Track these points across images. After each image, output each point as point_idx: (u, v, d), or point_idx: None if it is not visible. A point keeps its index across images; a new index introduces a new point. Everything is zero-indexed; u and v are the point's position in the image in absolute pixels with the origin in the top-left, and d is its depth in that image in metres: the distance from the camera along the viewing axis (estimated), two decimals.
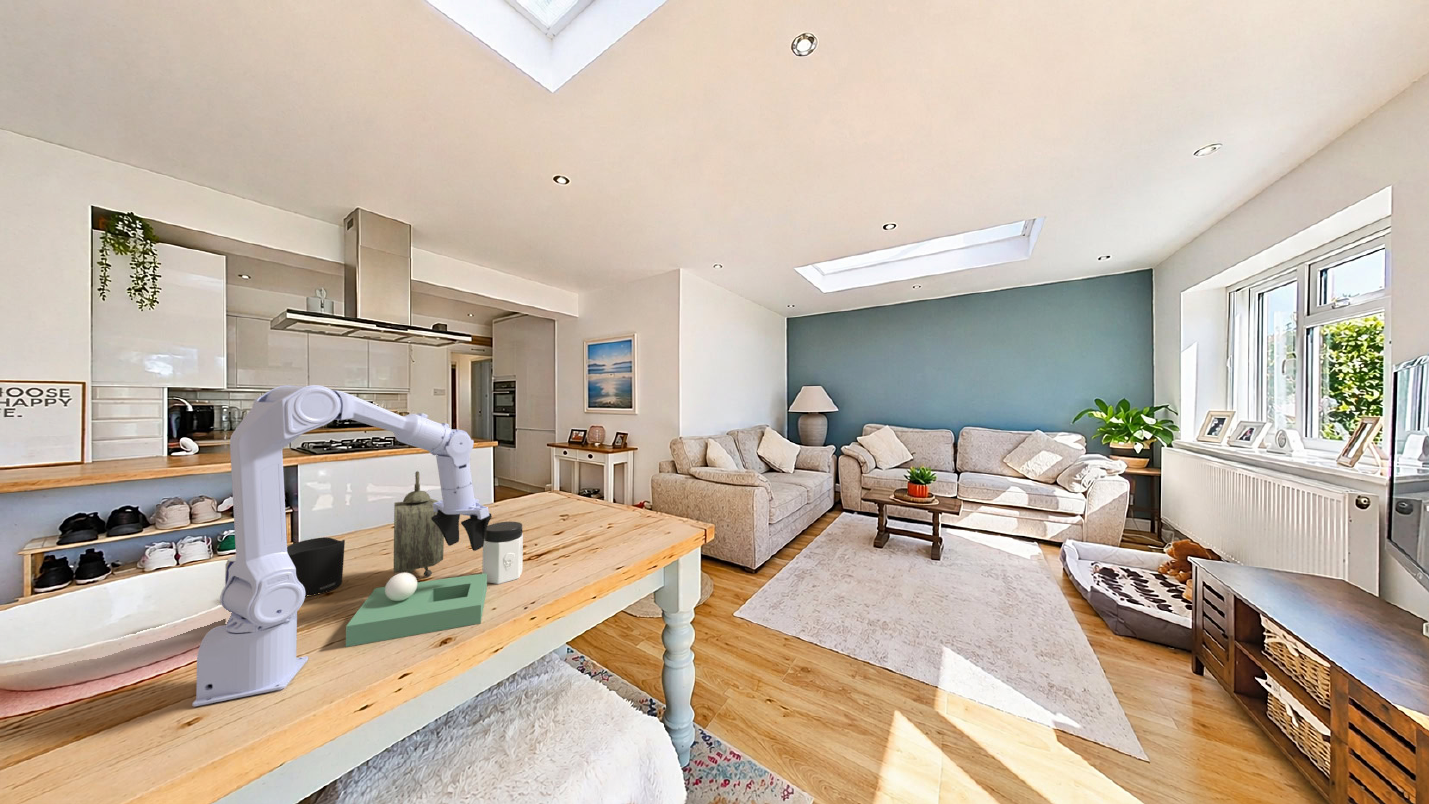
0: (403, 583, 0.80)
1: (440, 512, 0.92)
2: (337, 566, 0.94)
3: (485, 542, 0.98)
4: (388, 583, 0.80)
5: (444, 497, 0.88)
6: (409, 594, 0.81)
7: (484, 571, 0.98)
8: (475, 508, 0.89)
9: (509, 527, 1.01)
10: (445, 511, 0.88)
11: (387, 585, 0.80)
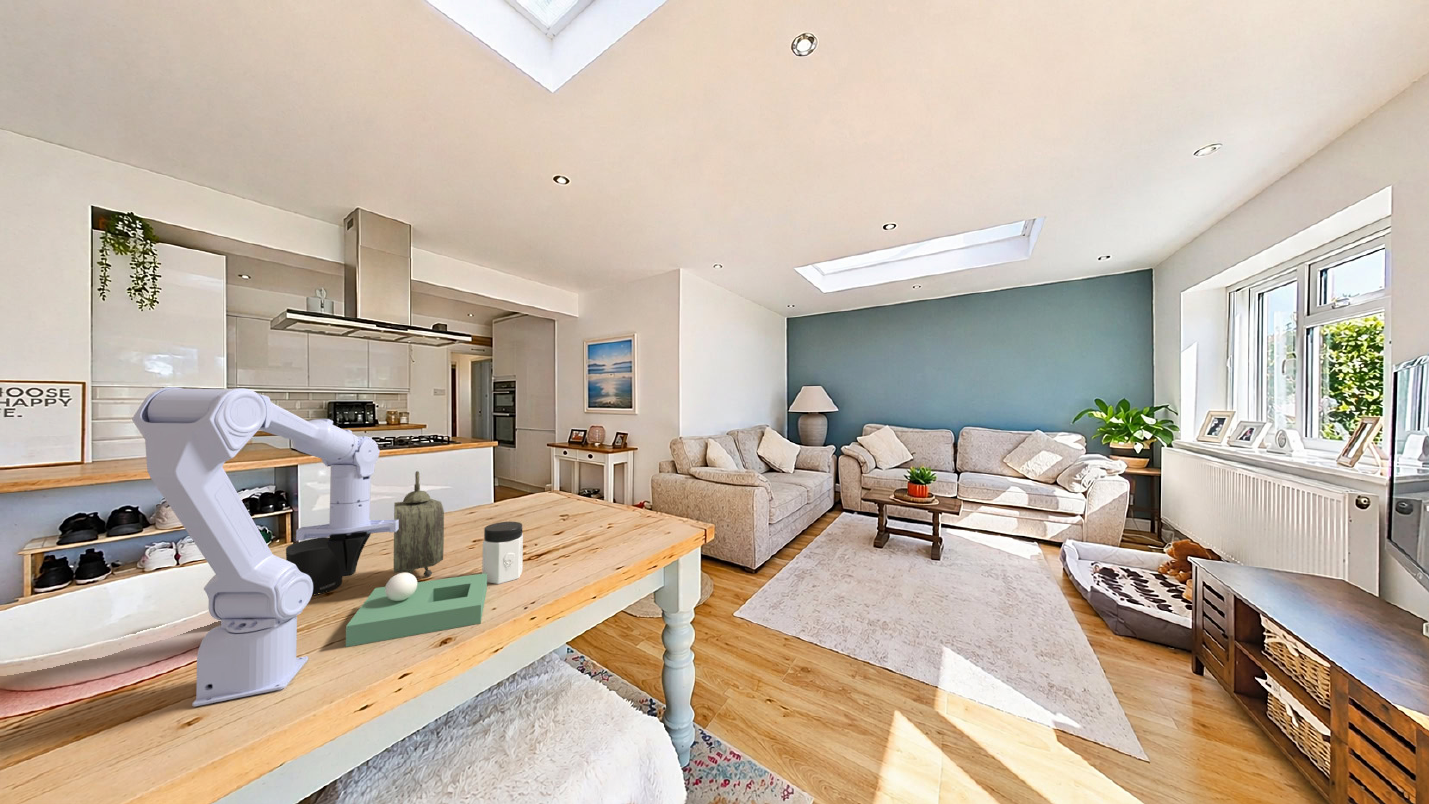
0: (403, 583, 0.80)
1: None
2: (337, 566, 0.94)
3: (485, 542, 0.98)
4: (388, 583, 0.80)
5: (343, 513, 0.77)
6: (409, 594, 0.81)
7: (484, 571, 0.98)
8: (382, 522, 0.81)
9: (509, 527, 1.01)
10: (341, 530, 0.76)
11: (387, 585, 0.80)
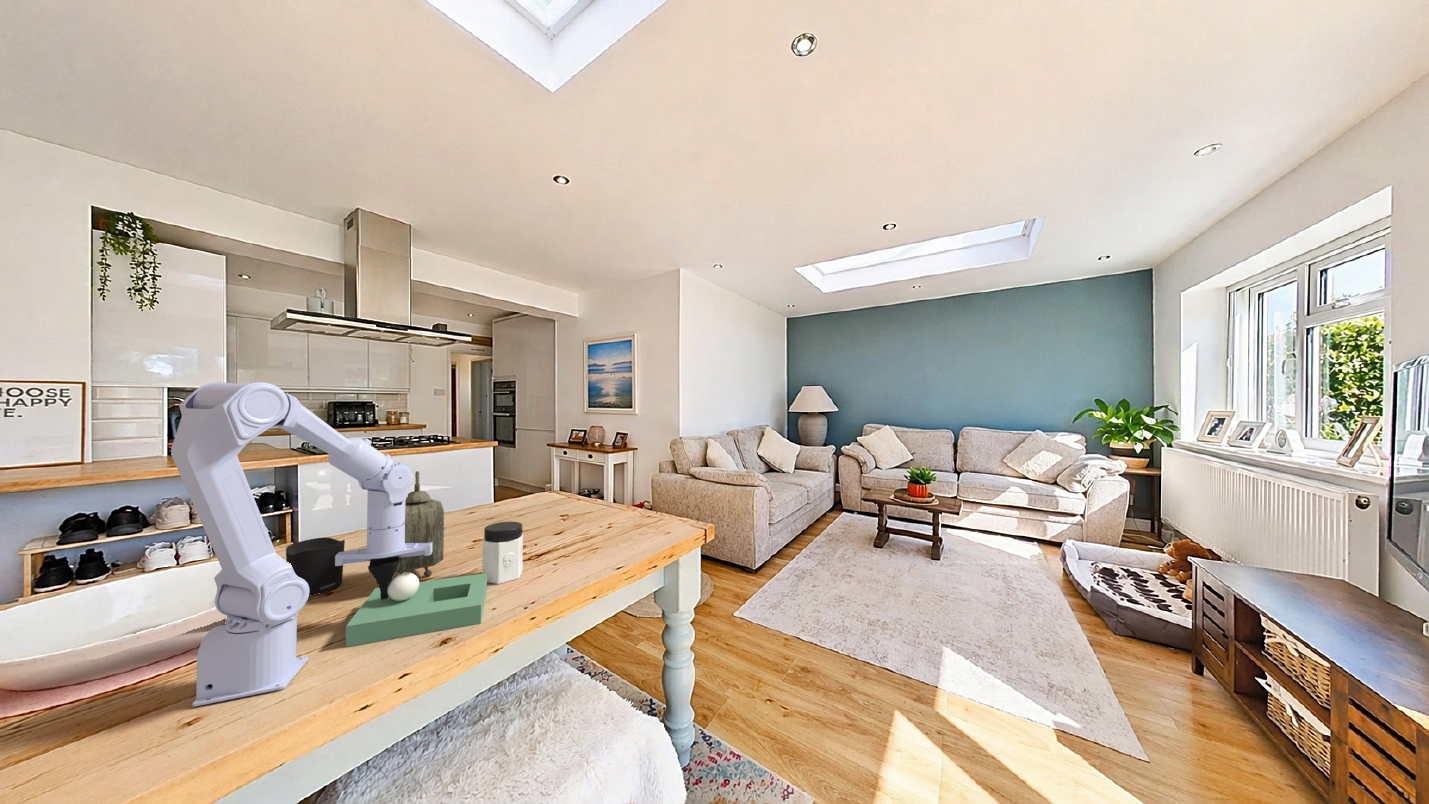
0: (406, 583, 0.80)
1: None
2: (337, 566, 0.94)
3: (485, 542, 0.98)
4: (391, 582, 0.80)
5: (380, 538, 0.78)
6: (410, 595, 0.81)
7: (484, 571, 0.98)
8: (416, 546, 0.83)
9: (509, 527, 1.01)
10: (379, 555, 0.78)
11: (390, 583, 0.80)
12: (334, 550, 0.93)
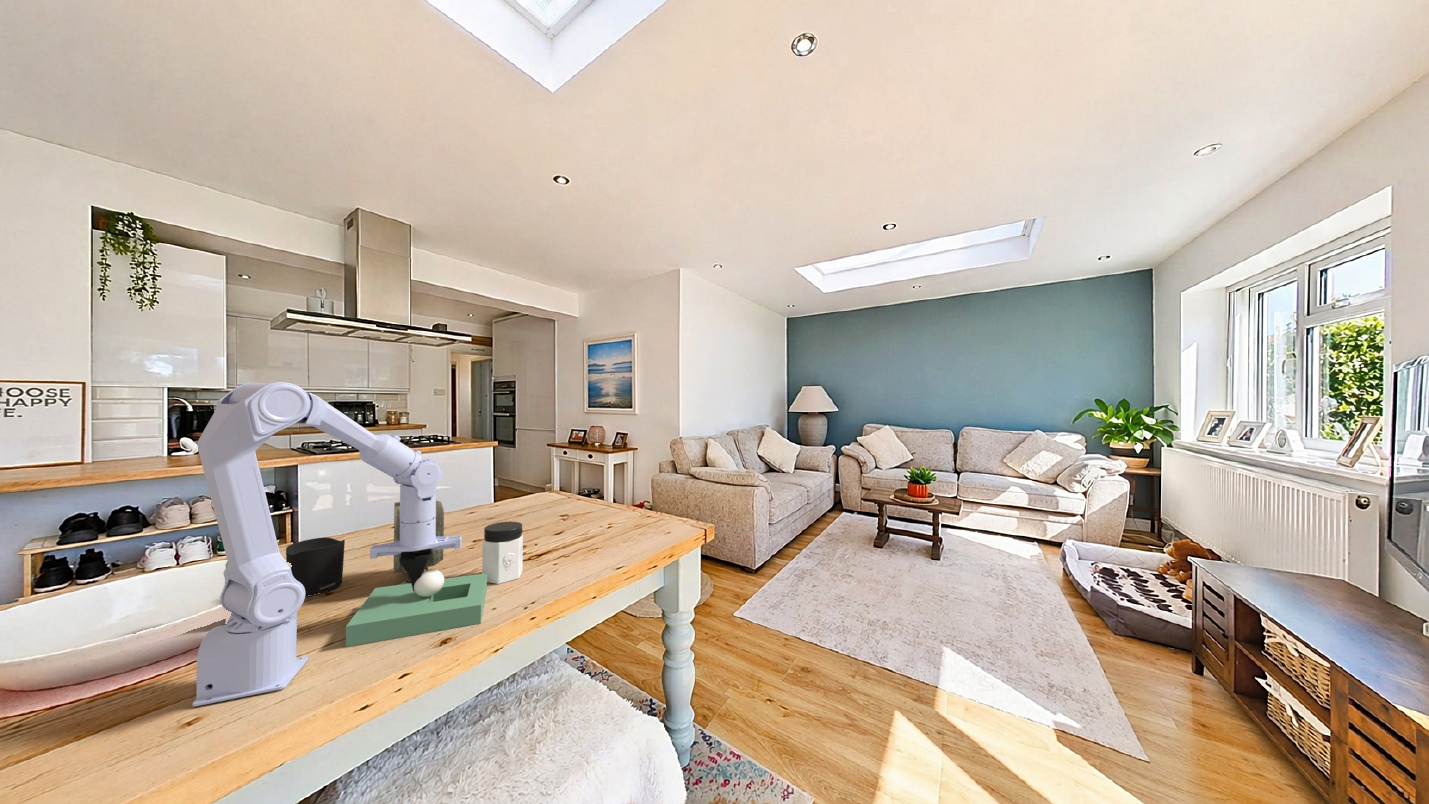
0: (434, 590, 0.83)
1: None
2: (337, 566, 0.94)
3: (485, 542, 0.98)
4: (438, 575, 0.84)
5: (413, 532, 0.80)
6: (419, 594, 0.82)
7: (484, 571, 0.98)
8: (447, 539, 0.85)
9: (509, 527, 1.01)
10: (413, 548, 0.80)
11: (437, 575, 0.83)
12: (334, 550, 0.93)
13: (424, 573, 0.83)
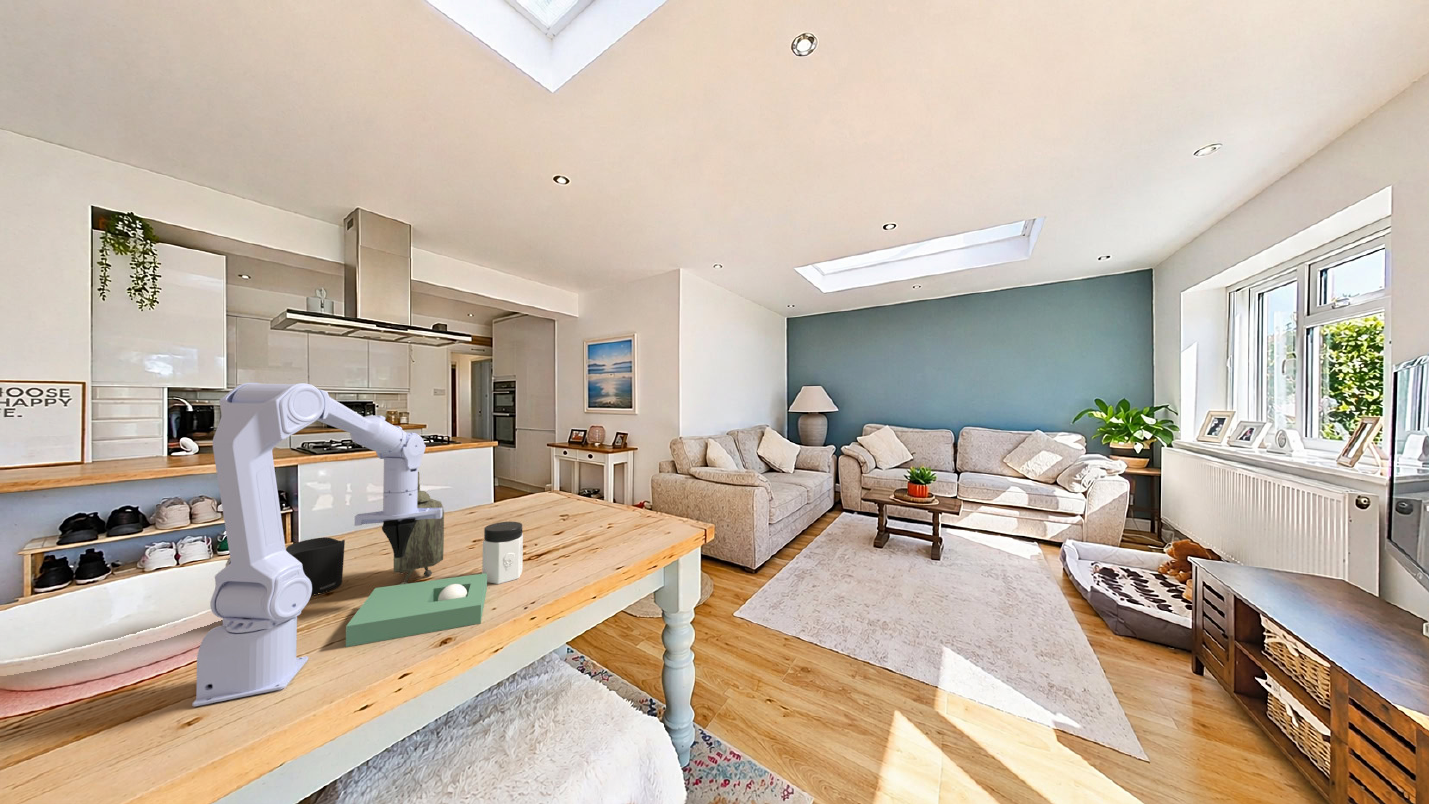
0: None
1: None
2: (337, 566, 0.94)
3: (485, 542, 0.98)
4: None
5: (395, 501, 0.86)
6: (443, 599, 0.82)
7: (484, 571, 0.98)
8: (428, 510, 0.90)
9: (509, 527, 1.01)
10: (395, 516, 0.85)
11: None
12: (334, 550, 0.93)
13: (465, 595, 0.85)
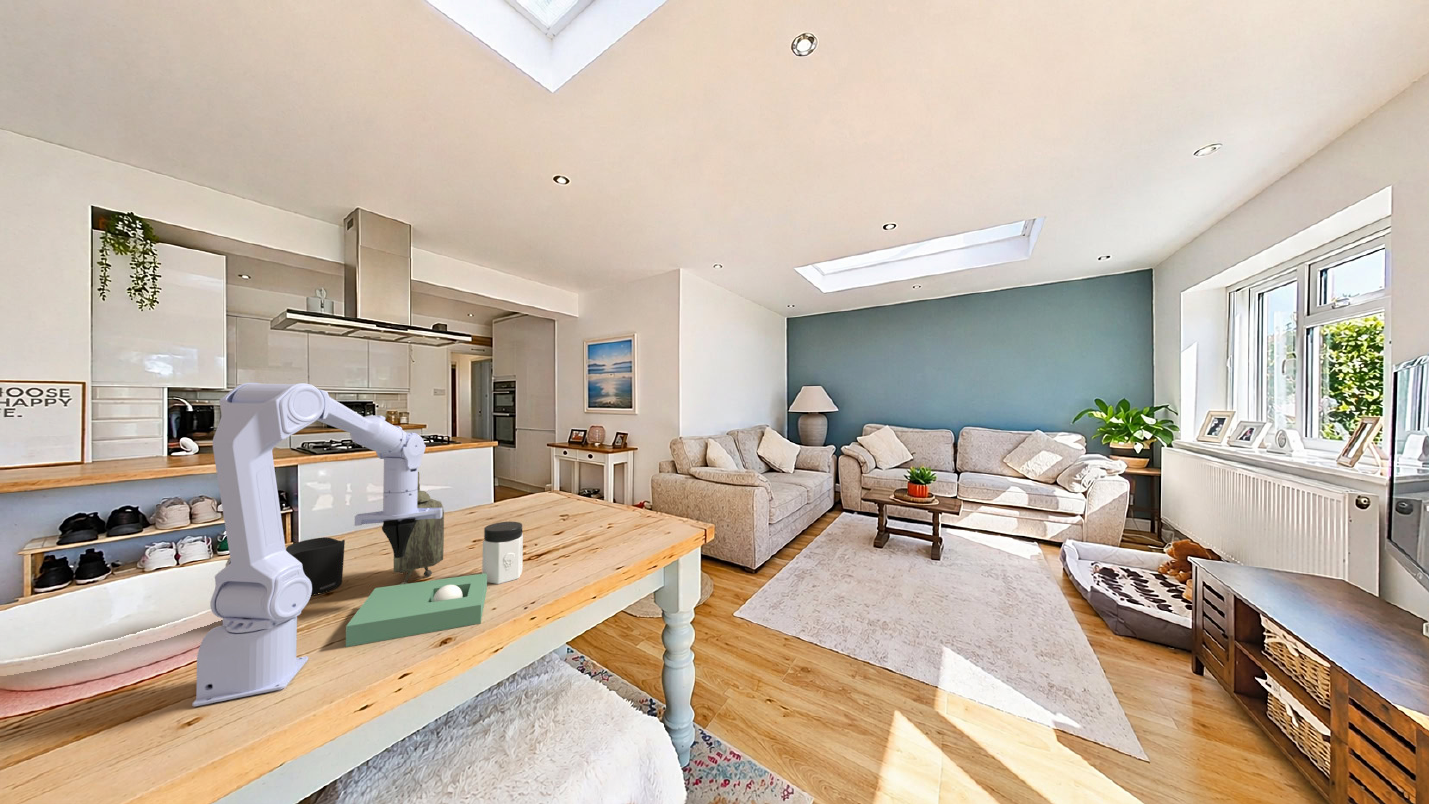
0: None
1: None
2: (337, 566, 0.94)
3: (485, 542, 0.98)
4: None
5: (395, 501, 0.86)
6: None
7: (484, 571, 0.98)
8: (428, 510, 0.90)
9: (509, 527, 1.01)
10: (395, 516, 0.85)
11: None
12: (334, 550, 0.93)
13: (458, 592, 0.84)
